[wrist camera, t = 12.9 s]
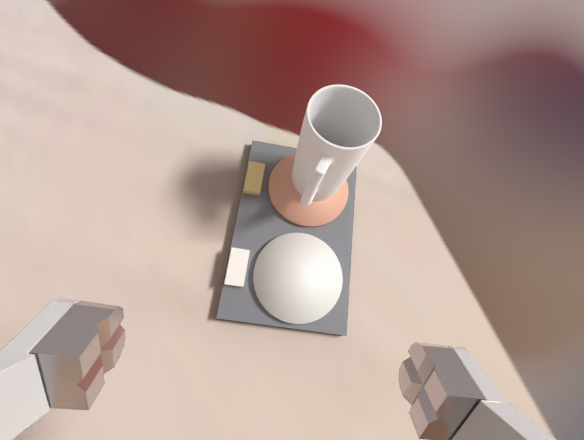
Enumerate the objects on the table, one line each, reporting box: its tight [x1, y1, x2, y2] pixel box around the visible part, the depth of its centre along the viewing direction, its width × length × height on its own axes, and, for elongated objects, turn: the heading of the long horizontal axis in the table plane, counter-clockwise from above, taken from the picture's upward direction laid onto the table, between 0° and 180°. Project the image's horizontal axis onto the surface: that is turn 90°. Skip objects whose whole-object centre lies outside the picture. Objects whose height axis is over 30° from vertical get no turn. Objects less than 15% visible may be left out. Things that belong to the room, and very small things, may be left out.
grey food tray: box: [216, 140, 356, 336], centre depth 35 cm, size 14×22×2 cm, turn 173°
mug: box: [292, 85, 382, 206], centre depth 31 cm, size 10×7×12 cm, turn 156°
